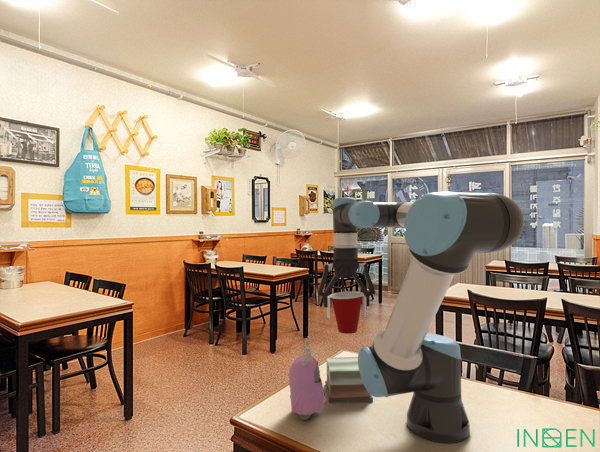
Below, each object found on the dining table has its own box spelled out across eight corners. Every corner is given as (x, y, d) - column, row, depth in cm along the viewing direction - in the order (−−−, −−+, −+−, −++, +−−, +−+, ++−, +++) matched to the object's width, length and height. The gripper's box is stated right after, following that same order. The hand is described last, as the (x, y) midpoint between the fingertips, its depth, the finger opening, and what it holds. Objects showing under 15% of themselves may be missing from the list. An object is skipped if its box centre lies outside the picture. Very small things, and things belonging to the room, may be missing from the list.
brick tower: (372, 401, 109) (372, 371, 109) (329, 402, 109) (328, 372, 109) (364, 383, 122) (363, 356, 122) (325, 384, 122) (324, 357, 122)
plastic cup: (330, 326, 122) (330, 290, 122) (363, 327, 120) (363, 290, 120) (328, 335, 111) (328, 295, 111) (364, 336, 109) (364, 296, 110)
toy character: (323, 427, 95) (322, 350, 95) (284, 424, 97) (283, 348, 97) (329, 405, 107) (328, 336, 107) (294, 402, 109) (293, 335, 109)
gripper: (379, 245, 120) (380, 313, 120) (308, 247, 120) (309, 315, 119) (384, 246, 112) (386, 319, 112) (309, 248, 112) (310, 320, 112)
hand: (346, 317), depth 116 cm, fingers closed on plastic cup, 11 cm apart
